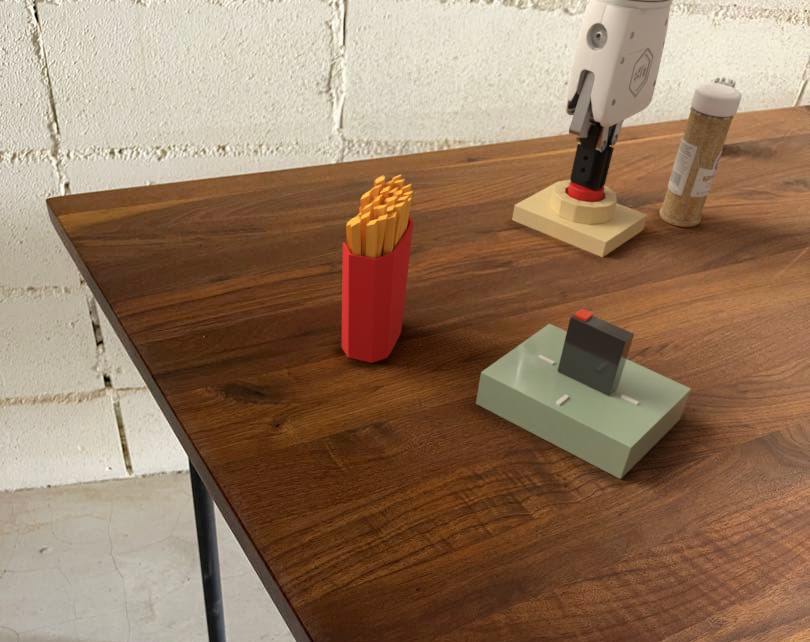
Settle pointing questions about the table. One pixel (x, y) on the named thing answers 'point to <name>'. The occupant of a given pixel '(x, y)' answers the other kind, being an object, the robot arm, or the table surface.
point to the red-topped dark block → (594, 352)
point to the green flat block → (581, 404)
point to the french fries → (376, 271)
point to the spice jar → (699, 153)
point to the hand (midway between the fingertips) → (586, 184)
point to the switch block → (580, 218)
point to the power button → (585, 193)
